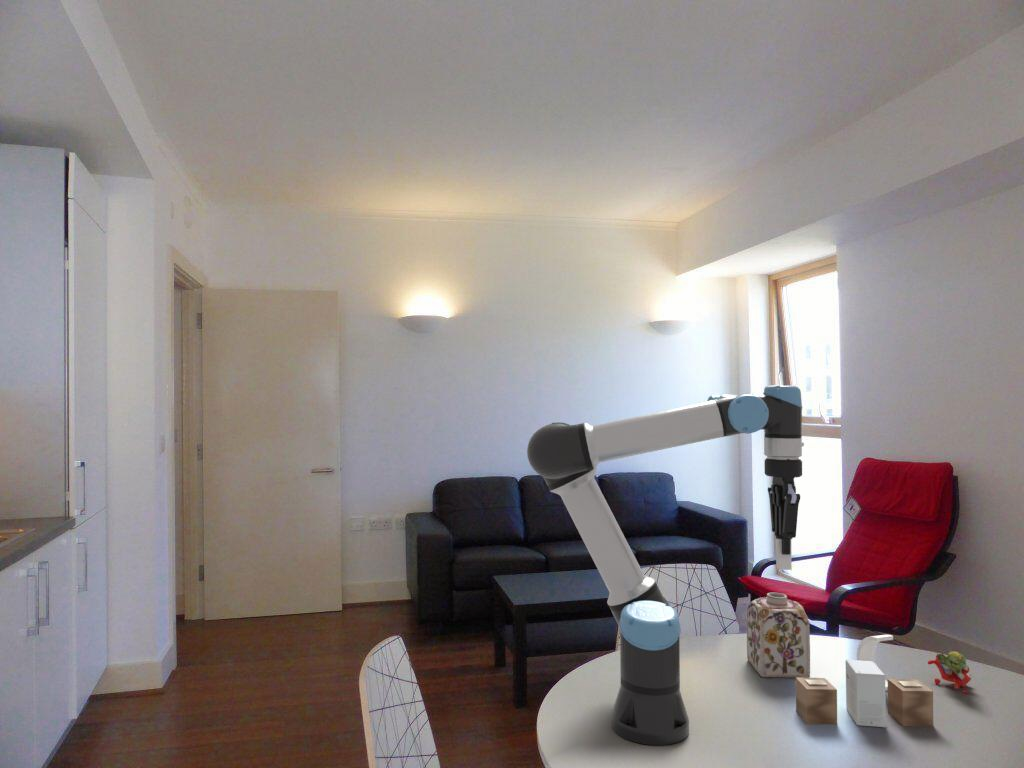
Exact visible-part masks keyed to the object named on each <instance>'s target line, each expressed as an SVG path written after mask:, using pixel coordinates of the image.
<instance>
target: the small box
mask: <svg viewBox="0 0 1024 768" xmlns="http://www.w3.org/2000/svg"><path fill="white" fill-rule="evenodd" d="M877 666H878V664H877V665H876V664H875V663H874V662H873V661H860V660H857V659H856V660H855V659H845V697H846V698H845V700H846V701H845V702H846V704H845V705H846V710H847V712H848V714H849V715H850V716H851V718H852V720H853V721H854V723H855V724H856V725H857V726H864V727H877V728H887V701H886V700H887V697H886V692H887V691H886V689H885V680H886V674H885V673H884V672H883V671H882V670H881V669H880V668H879V667H877Z"/></svg>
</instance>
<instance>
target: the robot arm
mask: <svg viewBox="0 0 1024 768" xmlns="http://www.w3.org/2000/svg"><path fill="white" fill-rule="evenodd" d="M802 401H803V400H802V391H801V389H800V388H799V386H796V385H767V386H765V387H764V388H763V393H762V394H757V395H755V394H754V393H749V392H747V393H742V394H725V393H724V394H714V395H713V394H712V395H710V396H708V398H707V401H705V402H701V403H696V404H690V405H686V406H681V407H677V408H671V409H667V410H662V411H659V412H652V413H649V414H644V415H639V416H634V417H629V418H624V419H619V420H615V421H611V422H606V423H601V424H596V425H590V424H589V423H587V422H582V423H581V422H580V423H577V424H576V423H575V424H569V423H566V422H562V421H561V422H559V421H558V422H552V423H549V424H546V425H544V426H541V428H538V429H537V430H536V431H535V432H534V433H533V434H532V436H531V437H530V439H529V441H528V443H527V449H526V455H527V459H528V462H529V465H530V467H531V468H532V470H534V471H535V473H536V474H538V475H539V476H541V477H542V478H543V480H544V481H545V483H546V485H547V487H548V490H549V491H550V492H551V493H553V494H557V495H559V496H560V497H561V500H562V502H563V504H564V506H565V508H566V510H567V512H568V514H569V517H571V520H572V521H573V523H574V525H575V527H576V529H577V531H578V534H579V535H580V537H581V539H582V542H583V543H584V545H585V547H586V550H587V551H588V553H589V555H590V557H591V559H592V561H593V562H594V565H595V567H596V568H597V570H598V573H599V574H600V576H601V578H602V581H603V582H604V584H605V586H606V588H607V590H608V592H609V594H608V598H607V601H606V603H607V606H608V607H609V609H610V611H611V613H612V615H613V617H614V619H615V621H616V623H617V625H618V627H619V630H620V631H619V633H620V634H619V637H620V638H619V639H620V640H619V641H620V647H619V649H620V652H619V653H620V656H619V657H620V664H619V665H620V667H619V668H620V671H619V672H620V674H619V675H620V681H619V682H620V686H619V689H618V693H617V696H616V698H615V702H614V705H613V707H612V710H611V728H612V729H613V730H614V732H615V733H616V734H617V735H619V736H620V737H621V738H624V739H626V740H629V741H631V742H634V743H638V744H641V745H642V744H643V745H649V746H667V745H672V744H677V743H679V742H682V741H683V740H685V739H686V738H688V736H689V734H690V719H689V716H688V711H687V709H686V705H685V703H684V700H683V696H682V693H681V690H680V689H681V685H680V683H681V681H680V680H681V679H680V678H681V677H680V675H681V670H680V669H681V668H680V665H681V664H680V663H681V662H680V660H681V659H680V657H681V656H680V653H681V651H680V646H681V645H680V642H681V641H680V639H681V638H680V637H681V636H680V634H681V632H682V631H681V630H682V629H681V622H680V617H679V614H678V612H677V611H676V610H675V609H674V608H673V607H672V606H671V605H670V603H669V601H668V600H667V599H666V598H665V597H664V596H663V593H662V592H661V590H660V588H659V586H658V584H657V582H656V580H655V578H653V577H650V576H648V575H645V573H644V572H643V570H642V568H641V565H640V564H639V562H638V560H637V558H636V556H635V554H634V552H633V550H632V548H631V546H630V545H629V543H628V541H627V539H626V537H625V535H624V532H623V531H622V529H621V527H620V525H619V523H618V521H617V520H616V517H615V516H614V513H613V512H612V510H611V508H610V506H609V504H608V502H607V500H606V498H605V496H604V494H603V493H602V491H601V488H600V486H599V485H598V483H597V481H596V479H595V475H596V473H597V469H598V466H599V464H600V463H603V462H604V463H605V462H608V461H613V460H618V459H624V458H627V457H628V458H629V457H632V456H633V457H634V456H636V455H642V454H646V453H653V452H656V451H657V452H658V451H661V450H666V449H671V448H677V447H682V446H685V445H692V444H695V443H701V442H704V441H709V440H715V439H720V438H725V437H732V436H735V435H740V434H746V435H747V434H754V433H756V432H758V431H760V430H763V431H764V435H763V436H764V437H763V455H764V456H765V457H766V458H765V459H764V475H765V476H766V477H771V478H772V480H771V481H772V482H771V483H772V484H771V485H770V486H768V487H767V493H768V499H769V508H770V509H769V510H770V519H771V520H770V521H771V532H773V533H774V536H775V567H776V569H777V570H781V571H782V570H783V571H785V570H786V571H787V570H788V571H789V570H790V571H791V570H792V567H793V566H792V540H793V538H796V537H797V526H798V516H799V515H798V513H799V504H800V500H801V494H800V493H797V488H796V484H795V478H800V477H802V476H803V460H801V459H800V457H802V456H803V448H802V447H804V445H805V443H804V442H802V441H803V439H802V437H803V436H802V422H803V421H802V419H803V418H802V417H803V416H802V415H803V414H802V413H803V402H802Z"/></svg>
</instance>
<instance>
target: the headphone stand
mask: <svg viewBox="0 0 1024 768" xmlns="http://www.w3.org/2000/svg"><path fill="white" fill-rule="evenodd" d="M892 640H894V635H892V634H881V635H871V636H867V637H865V638H863V639H862V640H860V642H859V644H858V646H857V648H856V649H857V650H856V660H860V661H873V662H874V663H875V664H876V665H877V667H878V664H877V661H876V660H877V659H876V650H877V647H878V644H880V642H887V641H892ZM878 668H879V667H878ZM885 689H886V692H888V680H886V679H885Z"/></svg>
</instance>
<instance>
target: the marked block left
mask: <svg viewBox="0 0 1024 768" xmlns="http://www.w3.org/2000/svg"><path fill="white" fill-rule="evenodd" d="M795 711H796V713H797V714H798V716H799V717H801V719H802V720H803V721H804V722H805V723H806V724H807V725H838V689H837V688H836V687H835V686H834V685H833V684H832V683H831V682H830V681H828V679H827V678H825V677H810V678H801V677H796V678H795Z"/></svg>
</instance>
